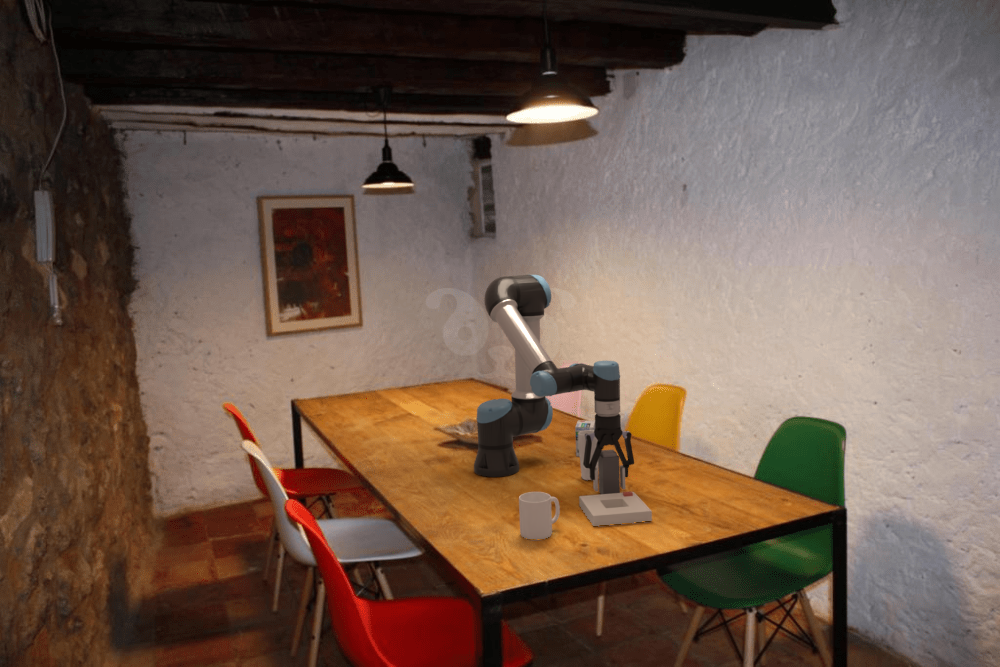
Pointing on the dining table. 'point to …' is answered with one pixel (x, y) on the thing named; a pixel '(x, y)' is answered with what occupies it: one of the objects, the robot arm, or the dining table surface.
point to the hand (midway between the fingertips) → (609, 488)
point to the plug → (609, 472)
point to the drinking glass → (581, 444)
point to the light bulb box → (583, 426)
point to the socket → (614, 508)
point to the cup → (537, 515)
